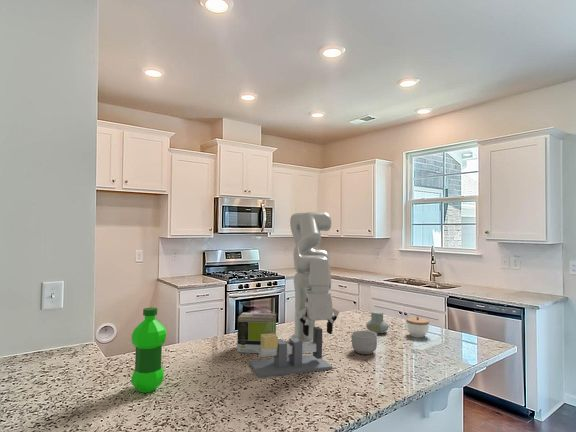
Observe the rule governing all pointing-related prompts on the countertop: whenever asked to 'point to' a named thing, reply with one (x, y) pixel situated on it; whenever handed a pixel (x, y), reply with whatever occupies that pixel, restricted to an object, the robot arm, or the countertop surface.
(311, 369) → the bracket
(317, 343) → the shaft
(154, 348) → the plastic bottle
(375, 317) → the air freshener
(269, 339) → the block
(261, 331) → the tea box
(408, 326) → the lidded jar
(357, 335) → the teacup
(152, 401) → the countertop surface
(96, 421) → the countertop surface
